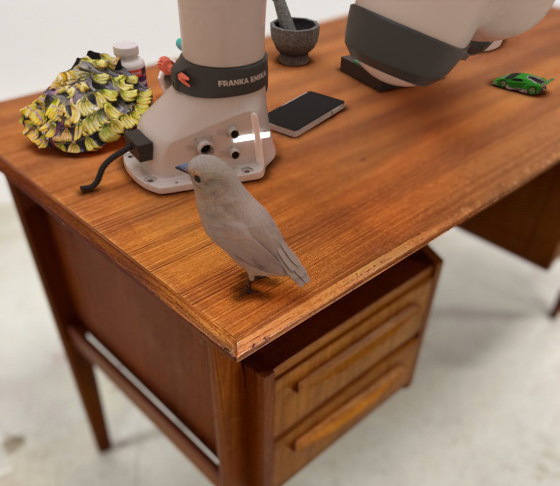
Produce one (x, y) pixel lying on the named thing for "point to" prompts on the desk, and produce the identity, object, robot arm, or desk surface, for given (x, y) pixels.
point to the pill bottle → (131, 59)
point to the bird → (240, 223)
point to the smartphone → (303, 113)
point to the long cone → (165, 79)
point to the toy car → (523, 82)
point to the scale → (363, 74)
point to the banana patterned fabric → (86, 106)
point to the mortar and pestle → (293, 35)
